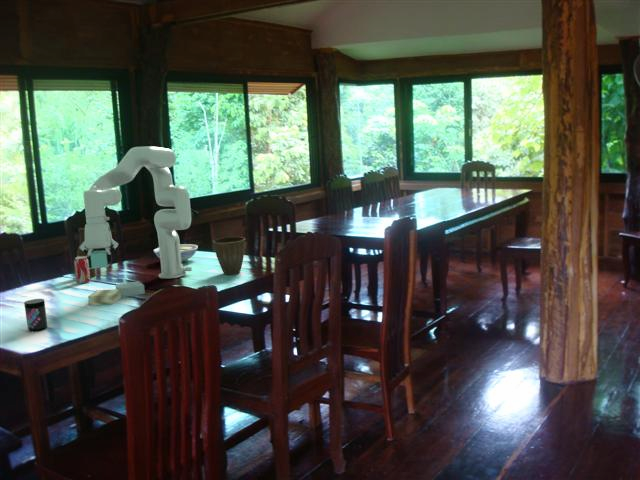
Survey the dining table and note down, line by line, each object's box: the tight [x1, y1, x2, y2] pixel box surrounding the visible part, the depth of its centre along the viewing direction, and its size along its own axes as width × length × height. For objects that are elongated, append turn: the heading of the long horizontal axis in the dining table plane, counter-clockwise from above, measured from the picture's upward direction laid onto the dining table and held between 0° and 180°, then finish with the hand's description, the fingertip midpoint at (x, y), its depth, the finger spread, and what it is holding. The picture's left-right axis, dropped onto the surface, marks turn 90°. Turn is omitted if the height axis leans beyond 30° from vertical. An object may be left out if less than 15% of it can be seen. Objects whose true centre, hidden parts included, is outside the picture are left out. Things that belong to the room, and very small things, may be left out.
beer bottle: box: [76, 227, 97, 279], centre depth 329 cm, size 8×8×24 cm
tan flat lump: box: [87, 288, 122, 306], centre depth 281 cm, size 10×10×4 cm
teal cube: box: [90, 250, 111, 269], centre depth 278 cm, size 6×6×6 cm
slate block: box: [115, 280, 146, 298], centre depth 292 cm, size 10×10×4 cm
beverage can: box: [73, 256, 91, 284], centre depth 318 cm, size 6×6×12 cm
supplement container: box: [23, 298, 48, 333], centre depth 245 cm, size 7×7×10 cm
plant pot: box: [212, 236, 246, 276], centre depth 318 cm, size 15×15×16 cm
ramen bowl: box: [153, 243, 199, 264], centre depth 354 cm, size 25×23×8 cm
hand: (101, 263), depth 278 cm, fingers closed on teal cube, 6 cm apart
